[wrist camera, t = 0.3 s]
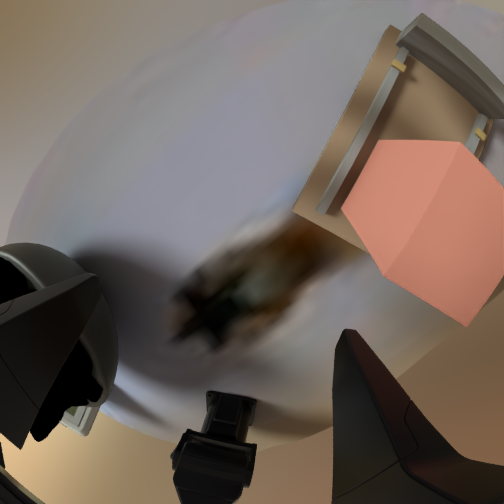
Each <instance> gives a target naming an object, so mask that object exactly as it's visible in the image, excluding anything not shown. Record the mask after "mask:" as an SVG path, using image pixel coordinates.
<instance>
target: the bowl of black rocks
mask: <svg viewBox="0 0 504 504" xmlns="http://www.w3.org/2000/svg"><path fill="white" fill-rule="evenodd" d="M86 273H87V272H86V271H85V270H84V269H83V268H82V267H81V266H80V265H79V264H78V263H76V262H75V261H74V260H73V259H71V258H70V257H68V256H66V255H65V254H63V253H61V252H59V251H57V250H55V249H52V248H50V247H47V246H44V245H40V244H33V243H15V244H9V245H5V246H2V247H0V304H2V303H5V302H8V301H10V300H13V299H14V300H15V299H16V298H19V297H21V296H24V295H27V294H29V293H32V292H35V291H38V290H40V289H43V288H46V287H49V286H52V285H54V284H57V283H60V282H63V281H66V280H69V279H71V278H74V277H77V276H80V275H83V274H86ZM101 293H102V292H101ZM117 365H118V339H117V332H116V327H115V323H114V320H113V316H112V313H111V310H110V308H109V306H108V303H107V301H106V299H105V297H104V295H103V294H101V299H100V301H99V303H98V304H97V306H96V308H95V310H94V312H93V314H92V316H91V318H90V320H89V322H88V324H87V326H86V328H85V329H84V331H83V333H82V334H81V336H80V338H79V339H78V341H77V342H76V344H75V346H74V347H73V349H72V351H71V352H70V354H69V356H68V357H67V359H66V361H65V363H64V364H63V366H62V368H61V370H60V371H59V373H58V375H57V377H56V379H55V380H54V382H53V384H52V386H51V388H50V390H49V392H48V393H47V395H46V397H45V399H44V401H43V403H42V405H41V407H40V409H39V412H38V414H37V416H36V418H35V420H34V422H33V424H32V426H31V429H30V433H31V434H32V436H33V438H34V439H35V440H36V441H38V442H40V441H42V440H44V439H45V438H46V437H47V436H48V435H49V433H50V432H51V431H52V429H54V428H55V427H56V426H57V425H58V423H59V422H60V421H61V420H62V417H63V416H64V412H65V411H66V410H67V409H69V408H71V407H72V406H73V407H78V406H84V407H97V406H100V405H102V404H103V403H104V402H105V401H106V399H107V397H108V396H109V394H110V391H111V389H112V387H113V383H114V380H115V376H116V371H117Z"/></svg>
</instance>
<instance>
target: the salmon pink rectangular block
mask: <svg viewBox="0 0 504 504" xmlns="http://www.w3.org/2000/svg"><path fill="white" fill-rule="evenodd" d="M341 210H342V211H343V213H344V214H345V216H346V217H347V219H348V220H349V222H350V223H351V225H352V226H353V228H354V229H355V231H356V232H357V234H358V235H359V237H360V238H361V240H362V242H363V243H364V245H365V246H366V248H367V249H368V251H369V253H370V254H371V256H372V258H373V259H374V261H375V263H376V264H377V266H378V268H379V269H380V271H381V273H382V274H383V276H384V277H386V278H387V279H389V280H391V281H392V282H394V283H396V284H398V285H399V286H401V287H403V288H404V289H406V290H408V291H409V292H411V293H413V294H414V295H416V296H418V297H419V298H421V299H422V300H424V301H426V302H427V303H429V304H431V305H432V306H434V307H435V308H437V309H439V310H440V311H442V312H443V313H445V314H447V315H448V316H450V317H451V318H453V319H454V320H456V321H458V322H459V323H461V324H462V325H464V326H465V327H467V326H468V325H469V324H470V322H471V321H472V320H473V319H474V317H475V316H476V315H477V313H478V312H479V311H480V309H481V308H482V307H483V305H484V304H485V302H486V301H487V300H488V298H489V297H490V295H491V294H492V292H493V291H494V289H495V288H496V286H497V285H498V283H499V282H500V280H501V279H502V277H503V275H504V188H503V187H502V186H501V185H500V183H499V182H498V181H497V180H496V179H495V178H494V176H493V175H492V174H491V173H490V172H489V171H488V170H487V169H486V167H485V166H484V165H483V164H482V163H481V162H480V161H479V160H478V159H477V158H476V157H475V156H474V155H473V154H472V153H471V152H470V151H469V150H468V149H467V148H466V147H465V146H464V145H463V144H462V143H461V142H453V141H434V140H378V142H377V144H376V146H375V148H374V149H373V151H372V153H371V155H370V157H369V159H368V161H367V163H366V164H365V166H364V168H363V170H362V172H361V174H360V175H359V177H358V179H357V181H356V183H355V184H354V186H353V188H352V190H351V192H350V193H349V195H348V197H347V199H346V200H345V202H344V204H343V206H342V207H341Z"/></svg>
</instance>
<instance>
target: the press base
mask: <svg viewBox="0 0 504 504" xmlns="http://www.w3.org/2000/svg"><path fill="white" fill-rule="evenodd" d="M494 119H504V85H503V84H502V82H501V81H500V80H499V79H498V78H497V77H496V76H495V75H494V74H493V73H492V72H491V71H490V69H489V68H488V67H487V66H486V65H485V64H484V63H483V62H482V61H481V60H480V59H478V58H477V57H476V56H475V55H474V54H473V53H472V52H471V51H470V50H469V49H468V48H467V47H465V46H464V45H463V44H462V43H461V42H460V41H458V40H457V39H456V38H455V37H454V36H452V35H451V34H450V33H449V32H447V31H446V30H445V29H444V28H442V27H441V26H440V25H438V24H437V23H436V22H434V21H433V20H432V19H430V18H429V17H427V16H426V15H424V14H423V13H421V14H420V15H419V16H418V17H417V18H416V19H415V20H413V21H412V22H411V23H410V24H409V25H408V26H407V27H406V28H405V29H404V30H403V31H400V30H398V29H397V28H395V27H394V26H392V25H390V26H389V27H388V28H387V29H386V30H385V32H384V34H383V36H382V38H381V40H380V42H379V44H378V46H377V48H376V50H375V52H374V54H373V56H372V58H371V60H370V62H369V64H368V66H367V68H366V70H365V72H364V74H363V76H362V78H361V80H360V82H359V84H358V85H357V87H356V89H355V91H354V93H353V95H352V97H351V99H350V101H349V103H348V105H347V107H346V109H345V111H344V112H343V114H342V116H341V118H340V120H339V122H338V124H337V126H336V128H335V130H334V131H333V133H332V135H331V137H330V139H329V141H328V143H327V145H326V147H325V148H324V150H323V152H322V154H321V156H320V158H319V160H318V162H317V163H316V165H315V167H314V169H313V171H312V173H311V175H310V177H309V178H308V180H307V182H306V184H305V186H304V188H303V190H302V191H301V193H300V195H299V197H298V199H297V201H296V202H295V204H294V206H293V212H295V213H297V214H299V215H301V216H302V217H304V218H306V219H308V220H310V221H312V222H314V223H315V224H317V225H319V226H321V227H323V228H325V229H326V230H328V231H330V232H332V233H334V234H335V235H337V236H339V237H341V238H342V239H344V240H346V241H348V242H350V243H351V244H353V245H355V246H356V247H358V248H360V249H362V250H363V251H365V252H367V253H368V254H370V253H369V251H368V249H367V248H366V246H365V245H364V243H363V242H362V240H361V238H360V237H359V235H358V234H357V232H356V231H355V229H354V228H353V226H352V225H351V223H350V222H349V220H348V219H347V217H346V216H345V214H344V213H343V211H342V210H341V207H342V206H343V204H344V202H345V200H346V199H347V197H348V195H349V193H350V192H351V190H352V188H353V186H354V184H355V183H356V181H357V179H358V177H359V175H360V174H361V172H362V170H363V168H364V166H365V164H366V163H367V161H368V159H369V157H370V155H371V153H372V151H373V149H374V148H375V146H376V144H377V142H378V140H434V141H453V142H461V143H462V144H463V145H464V146H465V147H466V148H467V149H468V150H469V151H470V152H471V153H472V154H473V155H474V156H475V157H476V158H477V159H478V160H479V158H480V155H481V153H482V151H483V148H484V146H485V143H486V141H487V138H488V135H489V133H490V130H491V127H492V124H493V121H494ZM370 255H371V254H370Z"/></svg>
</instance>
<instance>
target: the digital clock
mask: <svg viewBox="0 0 504 504" xmlns="http://www.w3.org/2000/svg"><path fill="white" fill-rule="evenodd" d="M100 406H101V405H100ZM100 406H97V407H84V406H78V407H73V406H72V407H71V408H69V409H67V410H66V411H65V412H64V416H63V417H62V420H61V421H60V422H59V423H61V424H62V425H64V426H65V427H68V428H70V429H71V430H73V431H74V432H76V433H78V434H79V435H82V436H87V435H88V434H89V431H90V430H91V428H92V425H93V423H94V420H95V418H96V415H97V413H98V411H99V408H100Z"/></svg>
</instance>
